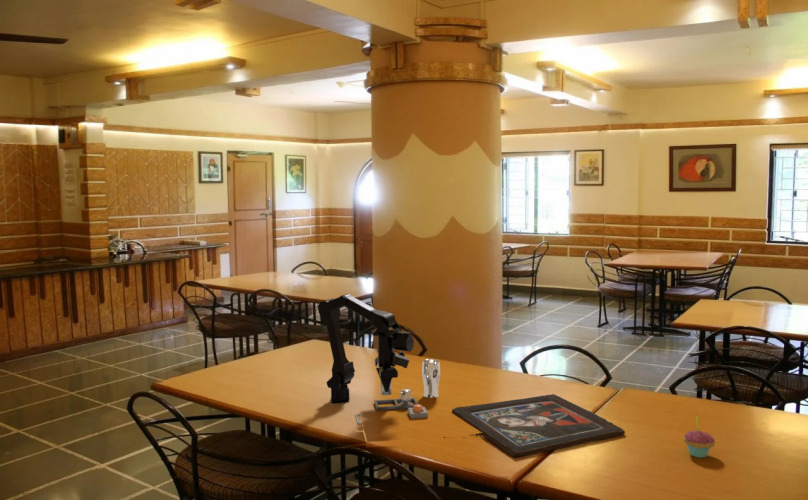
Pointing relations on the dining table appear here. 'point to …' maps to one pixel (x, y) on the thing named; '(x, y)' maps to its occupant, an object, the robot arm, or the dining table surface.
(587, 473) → the dining table surface
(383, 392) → the cylinder
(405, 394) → the cylinder
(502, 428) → the religious icon
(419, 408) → the brown egg
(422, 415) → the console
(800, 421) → the dining table surface
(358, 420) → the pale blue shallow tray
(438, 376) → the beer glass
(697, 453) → the cupcake
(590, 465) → the dining table surface
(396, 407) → the grey divided tray
